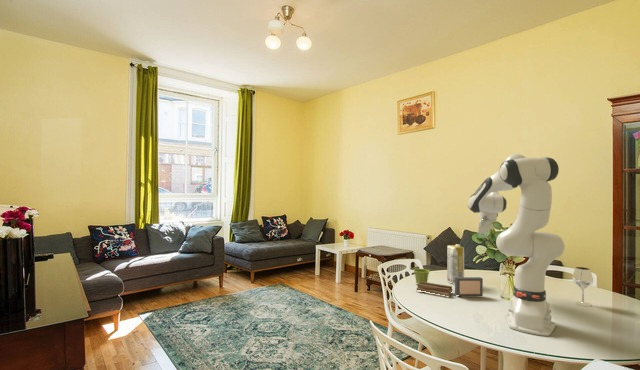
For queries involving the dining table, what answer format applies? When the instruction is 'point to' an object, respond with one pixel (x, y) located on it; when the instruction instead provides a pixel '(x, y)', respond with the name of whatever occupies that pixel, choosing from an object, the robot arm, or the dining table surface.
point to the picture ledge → (435, 288)
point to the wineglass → (582, 281)
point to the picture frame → (469, 286)
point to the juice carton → (455, 262)
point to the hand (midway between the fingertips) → (486, 238)
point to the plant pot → (421, 275)
